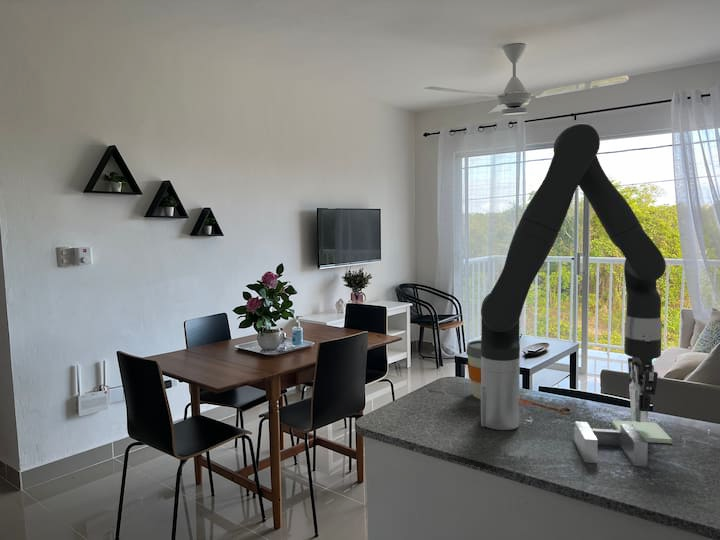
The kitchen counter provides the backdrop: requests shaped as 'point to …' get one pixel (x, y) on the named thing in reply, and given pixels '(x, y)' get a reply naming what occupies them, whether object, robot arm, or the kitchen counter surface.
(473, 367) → the reusable coffee cup
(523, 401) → the key
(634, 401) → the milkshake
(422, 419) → the kitchen counter surface
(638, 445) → the grey u-shaped bracket
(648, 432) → the mat
